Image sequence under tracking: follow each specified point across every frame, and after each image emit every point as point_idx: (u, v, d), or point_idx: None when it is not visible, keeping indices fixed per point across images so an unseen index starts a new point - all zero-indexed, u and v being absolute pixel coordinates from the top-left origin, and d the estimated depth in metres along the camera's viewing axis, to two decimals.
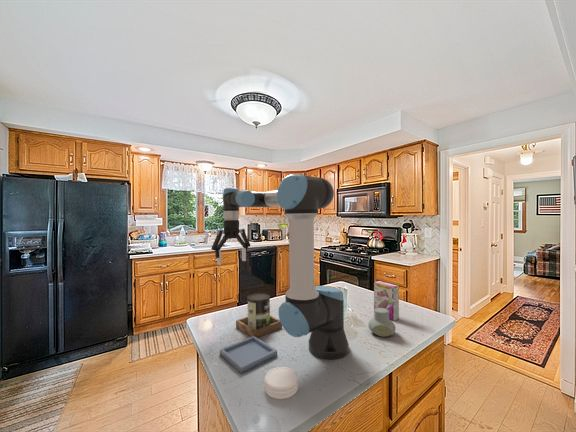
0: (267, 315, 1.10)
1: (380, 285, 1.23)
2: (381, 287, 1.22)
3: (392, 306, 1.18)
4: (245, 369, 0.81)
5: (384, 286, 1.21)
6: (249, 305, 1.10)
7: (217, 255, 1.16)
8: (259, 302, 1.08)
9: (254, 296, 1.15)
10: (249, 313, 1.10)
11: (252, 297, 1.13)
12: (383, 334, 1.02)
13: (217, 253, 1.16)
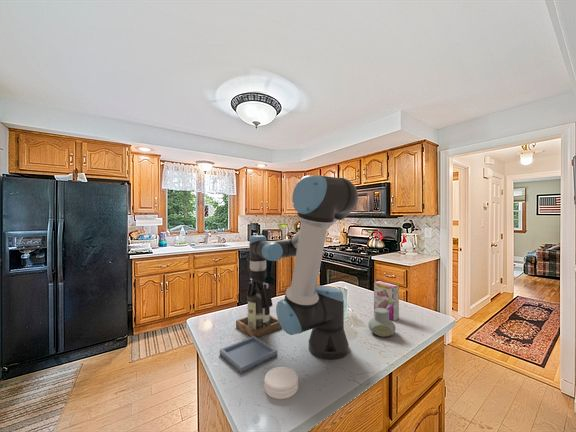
0: None
1: (380, 285, 1.23)
2: (381, 287, 1.22)
3: (392, 306, 1.18)
4: (245, 369, 0.81)
5: (384, 285, 1.21)
6: (249, 305, 1.10)
7: None
8: (259, 302, 1.08)
9: (254, 295, 1.15)
10: (249, 313, 1.10)
11: (252, 297, 1.13)
12: (383, 334, 1.02)
13: None
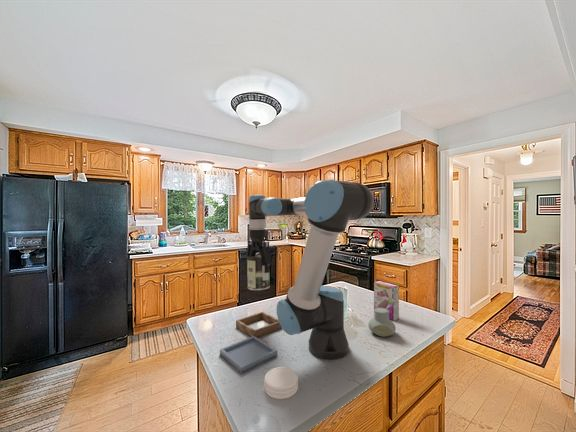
0: None
1: (380, 285, 1.23)
2: (381, 287, 1.22)
3: (392, 306, 1.18)
4: (245, 369, 0.81)
5: (384, 285, 1.21)
6: (249, 264, 1.10)
7: None
8: (259, 260, 1.08)
9: (254, 256, 1.14)
10: (249, 272, 1.10)
11: (252, 256, 1.13)
12: (383, 334, 1.02)
13: None
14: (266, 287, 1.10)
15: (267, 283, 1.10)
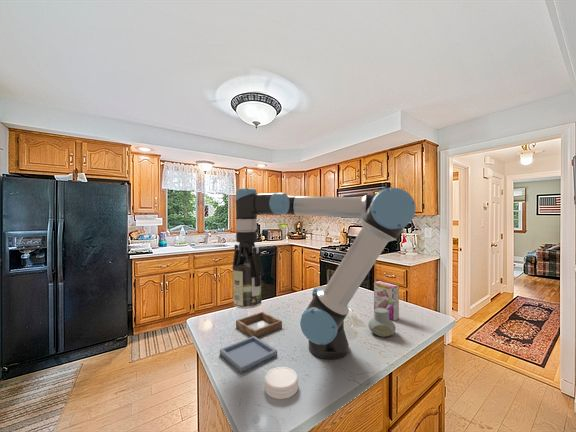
0: None
1: (380, 285, 1.23)
2: (381, 287, 1.22)
3: (392, 306, 1.18)
4: (245, 369, 0.81)
5: (384, 285, 1.21)
6: (235, 275, 0.87)
7: None
8: (247, 270, 0.86)
9: (242, 264, 0.92)
10: (235, 285, 0.87)
11: (239, 265, 0.90)
12: (383, 334, 1.02)
13: None
14: (256, 304, 0.87)
15: (258, 299, 0.88)
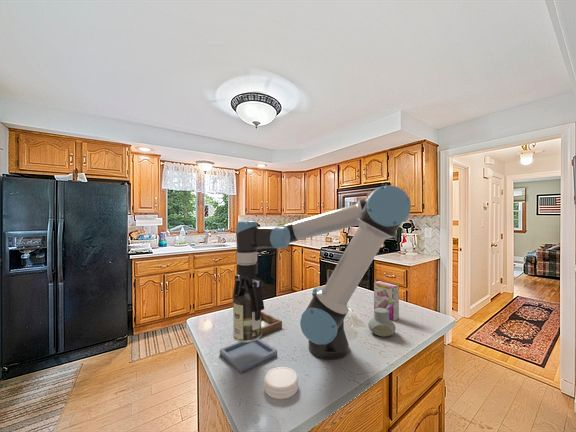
0: None
1: (380, 285, 1.23)
2: (381, 287, 1.22)
3: (392, 306, 1.18)
4: (245, 369, 0.81)
5: (384, 285, 1.21)
6: (235, 308, 0.87)
7: None
8: (248, 304, 0.86)
9: (242, 296, 0.92)
10: (235, 318, 0.87)
11: (239, 297, 0.90)
12: (383, 334, 1.02)
13: None
14: (257, 337, 0.87)
15: (258, 332, 0.88)
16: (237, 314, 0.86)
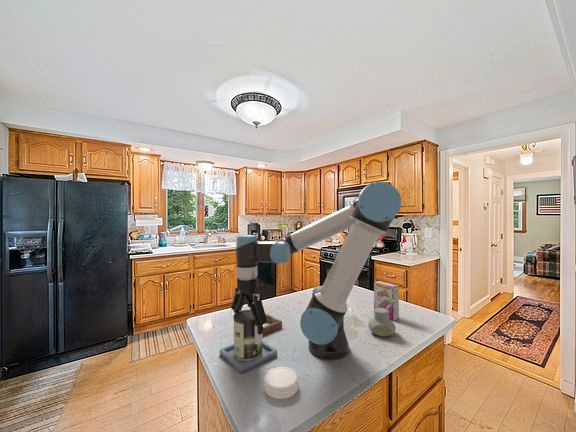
0: None
1: (380, 285, 1.23)
2: (381, 287, 1.22)
3: (392, 306, 1.18)
4: (245, 369, 0.81)
5: (384, 285, 1.21)
6: (235, 326, 0.87)
7: None
8: (248, 323, 0.85)
9: (243, 313, 0.92)
10: (235, 336, 0.87)
11: (240, 315, 0.90)
12: (383, 334, 1.02)
13: None
14: (257, 356, 0.87)
15: (259, 350, 0.88)
16: (238, 332, 0.86)
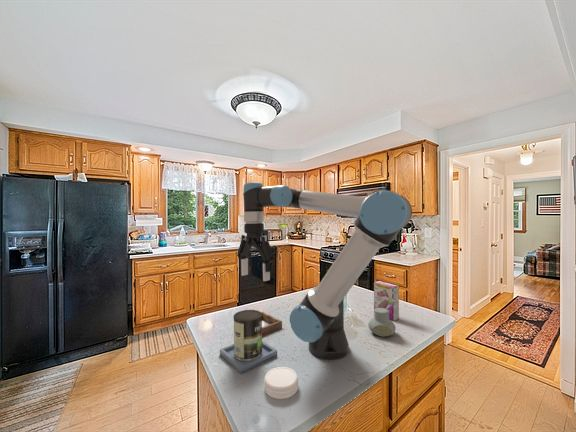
0: (258, 338, 0.88)
1: (380, 285, 1.23)
2: (381, 287, 1.22)
3: (392, 306, 1.18)
4: (245, 369, 0.81)
5: (384, 286, 1.21)
6: (235, 326, 0.87)
7: None
8: (248, 323, 0.86)
9: (243, 313, 0.92)
10: (235, 336, 0.87)
11: (240, 315, 0.90)
12: (383, 334, 1.02)
13: None
14: (257, 356, 0.87)
15: (259, 350, 0.88)
16: (238, 332, 0.86)
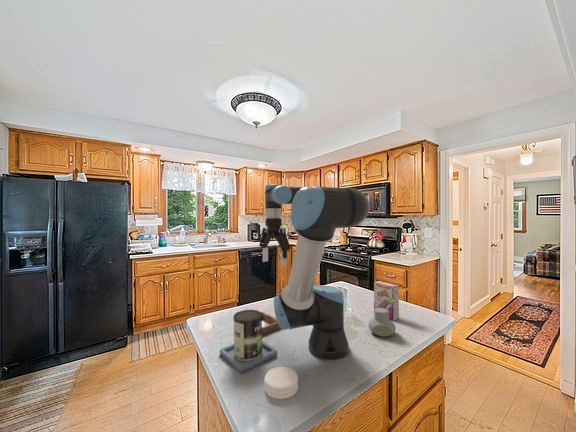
0: (258, 339, 0.88)
1: (380, 285, 1.23)
2: (381, 287, 1.22)
3: (392, 306, 1.18)
4: (245, 369, 0.81)
5: (384, 285, 1.21)
6: (235, 326, 0.87)
7: (262, 251, 1.21)
8: (248, 323, 0.85)
9: (243, 313, 0.92)
10: (235, 336, 0.87)
11: (240, 315, 0.90)
12: (383, 334, 1.02)
13: (262, 250, 1.21)
14: (257, 356, 0.87)
15: (259, 350, 0.88)
16: (238, 332, 0.86)
